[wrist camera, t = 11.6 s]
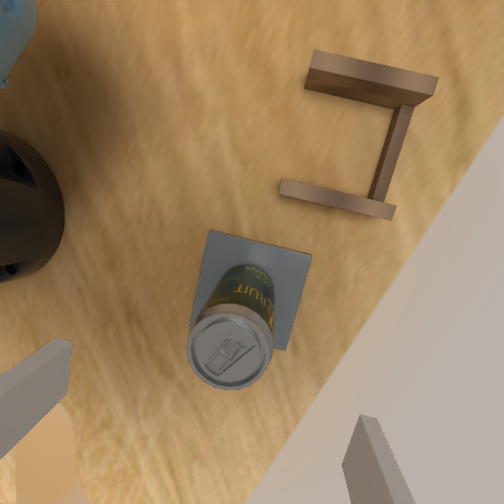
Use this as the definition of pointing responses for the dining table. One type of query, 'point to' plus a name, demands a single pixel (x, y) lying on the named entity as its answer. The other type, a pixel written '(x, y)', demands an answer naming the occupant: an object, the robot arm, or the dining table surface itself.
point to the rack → (374, 92)
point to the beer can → (234, 330)
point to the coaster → (267, 259)
